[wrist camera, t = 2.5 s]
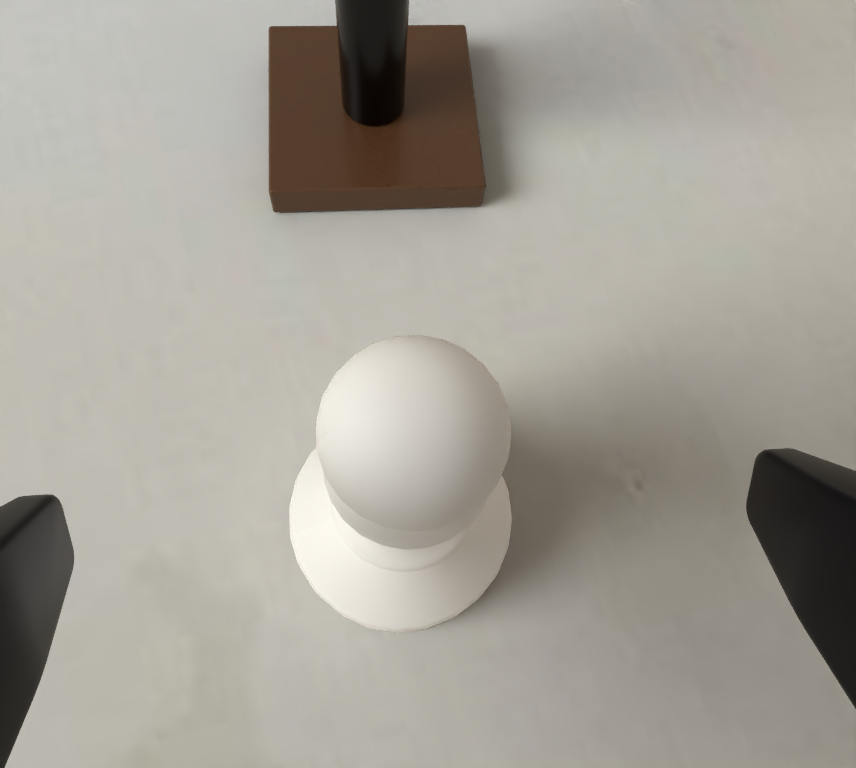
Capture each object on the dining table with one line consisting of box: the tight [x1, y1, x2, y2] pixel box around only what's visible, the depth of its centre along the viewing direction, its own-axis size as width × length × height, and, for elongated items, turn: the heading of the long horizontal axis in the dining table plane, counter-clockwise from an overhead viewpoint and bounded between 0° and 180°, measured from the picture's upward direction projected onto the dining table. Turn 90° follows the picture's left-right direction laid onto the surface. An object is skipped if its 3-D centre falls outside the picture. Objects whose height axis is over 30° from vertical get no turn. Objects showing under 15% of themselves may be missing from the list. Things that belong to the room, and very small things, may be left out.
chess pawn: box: [289, 335, 512, 633], centre depth 13 cm, size 5×5×9 cm
